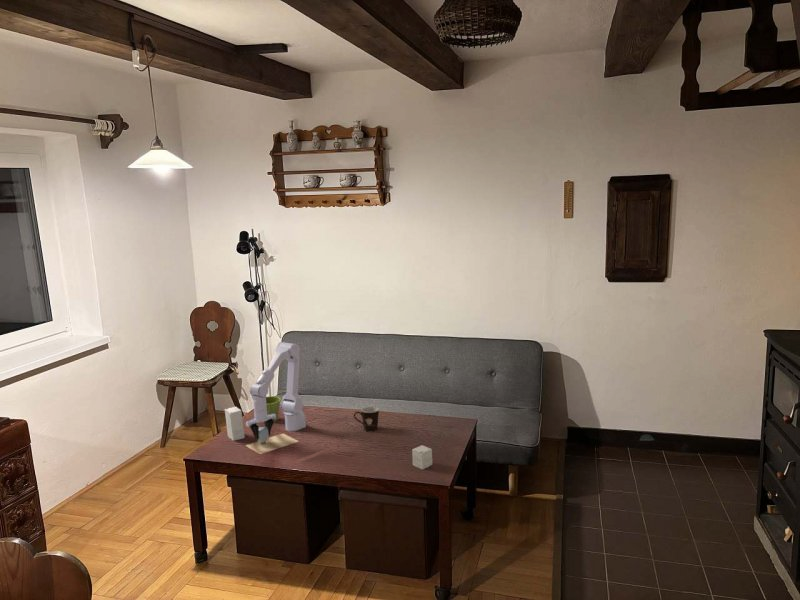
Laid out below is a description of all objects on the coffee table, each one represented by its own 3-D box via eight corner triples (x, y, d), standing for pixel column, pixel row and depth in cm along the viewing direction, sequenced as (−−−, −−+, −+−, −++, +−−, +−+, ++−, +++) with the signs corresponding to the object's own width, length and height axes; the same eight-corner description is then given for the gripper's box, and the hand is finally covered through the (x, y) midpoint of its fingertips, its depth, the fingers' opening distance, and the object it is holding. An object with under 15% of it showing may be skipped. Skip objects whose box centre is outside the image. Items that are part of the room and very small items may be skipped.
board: (283, 435, 306) (282, 433, 306) (298, 443, 296) (298, 441, 296) (245, 447, 293) (245, 445, 293) (260, 456, 283) (260, 454, 283)
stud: (264, 441, 297) (263, 435, 296) (266, 443, 295) (266, 437, 294) (259, 443, 295) (258, 437, 294) (261, 445, 293) (261, 438, 292)
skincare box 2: (422, 461, 273) (421, 444, 271) (432, 465, 268) (432, 448, 267) (412, 465, 269) (411, 449, 267) (422, 469, 264) (422, 453, 263)
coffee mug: (383, 427, 312) (382, 408, 310) (373, 433, 305) (372, 413, 303) (363, 423, 318) (362, 404, 316) (353, 429, 311) (352, 410, 309)
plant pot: (254, 421, 327) (252, 400, 325) (274, 415, 335) (272, 394, 333) (266, 427, 318) (265, 405, 316) (286, 420, 326) (285, 399, 324)
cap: (266, 436, 298) (265, 426, 297) (270, 439, 293) (269, 429, 293) (255, 438, 295) (254, 428, 294) (259, 442, 291) (258, 431, 290)
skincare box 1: (245, 440, 303) (242, 410, 300) (232, 443, 299) (230, 413, 297) (239, 434, 310) (236, 405, 307) (226, 437, 306) (224, 408, 304)
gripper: (269, 403, 300) (271, 430, 302) (241, 411, 290) (244, 439, 293) (277, 406, 294) (279, 434, 297) (249, 414, 285) (251, 443, 287)
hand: (262, 437), depth 294 cm, fingers closed on cap, 5 cm apart
